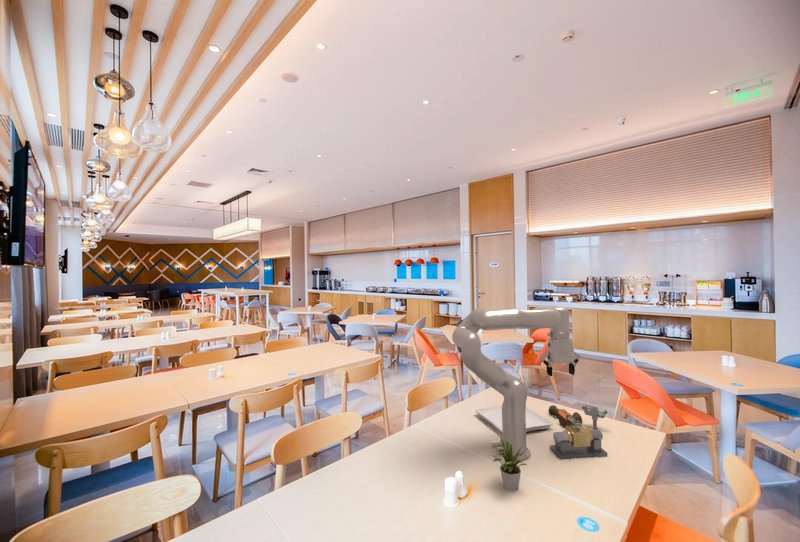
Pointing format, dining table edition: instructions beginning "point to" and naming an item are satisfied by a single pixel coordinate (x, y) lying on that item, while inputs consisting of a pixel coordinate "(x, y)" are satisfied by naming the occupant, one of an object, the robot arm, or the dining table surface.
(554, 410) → the kendama
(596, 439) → the ball valve
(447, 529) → the dining table surface
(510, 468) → the house plant
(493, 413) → the square plate
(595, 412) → the mechanical component
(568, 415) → the lever
